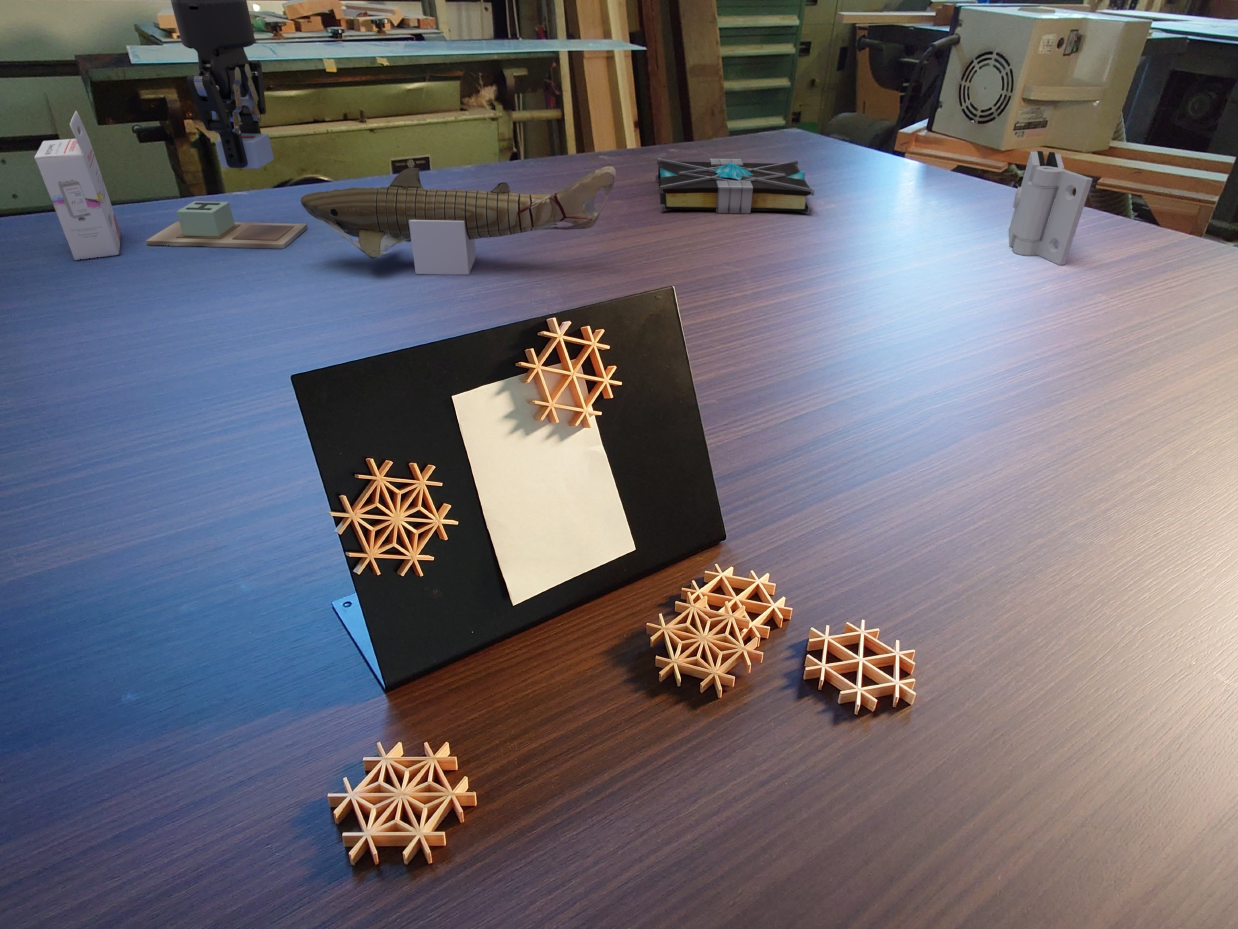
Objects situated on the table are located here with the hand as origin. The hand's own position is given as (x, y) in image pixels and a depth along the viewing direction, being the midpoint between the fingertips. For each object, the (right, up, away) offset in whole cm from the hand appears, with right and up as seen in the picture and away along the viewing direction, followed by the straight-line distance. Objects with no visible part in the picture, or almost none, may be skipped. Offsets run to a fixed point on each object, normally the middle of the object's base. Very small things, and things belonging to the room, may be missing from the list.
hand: (247, 161), depth 96 cm
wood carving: (+27, -13, -2) cm, 30 cm away
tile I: (0, 0, 0) cm, 0 cm away
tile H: (-7, -7, +5) cm, 11 cm away
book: (+61, +3, +23) cm, 65 cm away
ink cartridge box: (-19, -10, +1) cm, 21 cm away
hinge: (+97, -9, +6) cm, 97 cm away
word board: (-5, -8, +5) cm, 10 cm away
